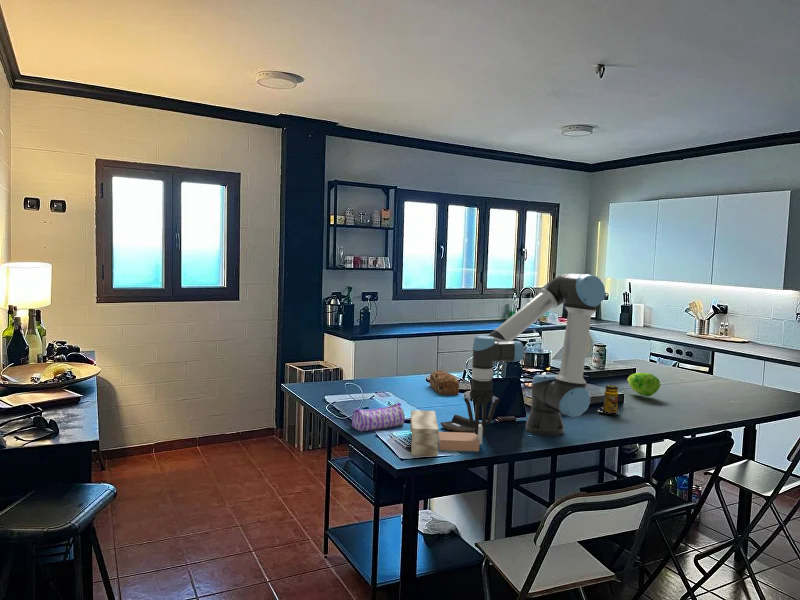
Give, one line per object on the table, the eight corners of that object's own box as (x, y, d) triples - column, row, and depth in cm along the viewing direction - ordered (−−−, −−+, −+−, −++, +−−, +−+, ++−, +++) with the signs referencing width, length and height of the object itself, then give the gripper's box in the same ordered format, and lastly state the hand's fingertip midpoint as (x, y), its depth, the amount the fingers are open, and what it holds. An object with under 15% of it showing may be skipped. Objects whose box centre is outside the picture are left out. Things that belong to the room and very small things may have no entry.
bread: (429, 388, 310) (429, 369, 309) (448, 388, 312) (449, 369, 311) (438, 397, 291) (439, 377, 291) (459, 397, 294) (460, 377, 293)
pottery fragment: (437, 426, 238) (438, 415, 238) (457, 424, 246) (458, 414, 246) (464, 434, 227) (465, 423, 227) (484, 432, 234) (486, 421, 234)
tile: (475, 443, 222) (475, 432, 222) (478, 452, 212) (479, 441, 212) (437, 442, 222) (438, 431, 222) (439, 451, 212) (440, 440, 212)
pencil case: (393, 422, 246) (394, 399, 245) (407, 427, 239) (408, 404, 238) (348, 430, 232) (349, 406, 231) (362, 436, 225) (362, 412, 224)
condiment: (615, 414, 270) (617, 388, 269) (596, 411, 274) (598, 385, 273) (619, 411, 276) (621, 385, 275) (601, 408, 280) (602, 383, 279)
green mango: (640, 389, 324) (641, 367, 323) (664, 398, 305) (666, 375, 304) (617, 389, 321) (619, 367, 320) (640, 398, 302) (642, 375, 301)
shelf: (433, 435, 229) (434, 411, 228) (437, 456, 205) (438, 429, 204) (410, 434, 229) (411, 410, 228) (411, 455, 205) (412, 428, 204)
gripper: (498, 377, 219) (495, 440, 221) (463, 376, 219) (460, 439, 221) (502, 381, 211) (498, 446, 213) (465, 380, 211) (462, 445, 213)
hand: (479, 442), depth 217 cm, fingers closed
